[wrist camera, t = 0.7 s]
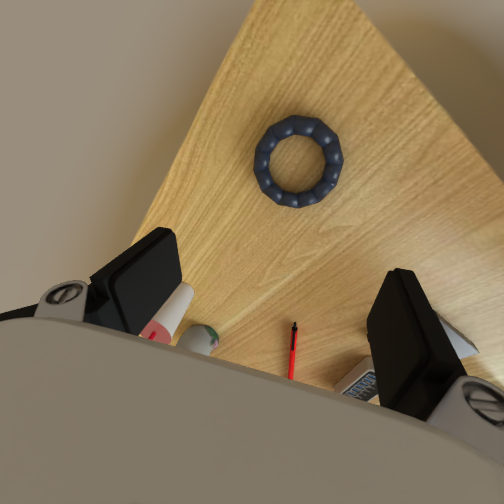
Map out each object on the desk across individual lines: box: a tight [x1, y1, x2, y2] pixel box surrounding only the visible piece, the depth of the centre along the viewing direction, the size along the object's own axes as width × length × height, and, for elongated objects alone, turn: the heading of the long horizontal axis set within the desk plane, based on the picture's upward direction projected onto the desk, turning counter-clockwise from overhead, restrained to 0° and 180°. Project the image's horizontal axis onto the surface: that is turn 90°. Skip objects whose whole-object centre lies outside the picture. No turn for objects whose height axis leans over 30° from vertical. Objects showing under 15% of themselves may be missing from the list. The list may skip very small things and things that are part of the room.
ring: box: [253, 115, 344, 208], centre depth 24 cm, size 9×9×2 cm
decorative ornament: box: [176, 325, 219, 356], centre depth 39 cm, size 9×6×15 cm
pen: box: [288, 322, 297, 380], centre depth 41 cm, size 1×19×1 cm, turn 3°
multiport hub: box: [334, 356, 378, 402], centre depth 39 cm, size 4×11×2 cm, turn 163°
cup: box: [140, 283, 194, 344], centre depth 35 cm, size 5×5×12 cm
